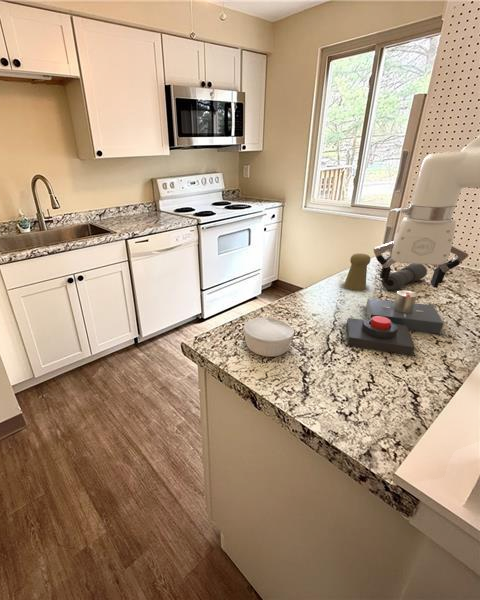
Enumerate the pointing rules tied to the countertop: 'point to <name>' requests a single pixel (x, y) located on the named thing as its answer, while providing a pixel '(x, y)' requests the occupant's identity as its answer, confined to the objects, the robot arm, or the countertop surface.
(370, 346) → the switch block
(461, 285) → the countertop surface
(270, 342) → the ramekin
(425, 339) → the countertop surface
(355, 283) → the cork
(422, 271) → the flashlight
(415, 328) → the control panel
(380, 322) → the power button
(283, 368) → the countertop surface
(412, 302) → the dial
